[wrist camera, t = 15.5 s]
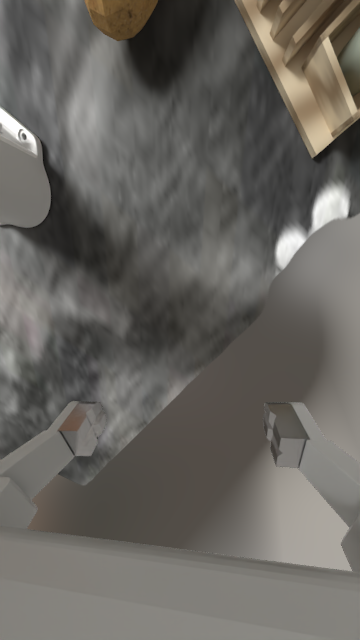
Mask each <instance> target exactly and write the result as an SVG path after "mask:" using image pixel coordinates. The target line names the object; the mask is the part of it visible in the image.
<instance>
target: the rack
mask: <svg viewBox="0 0 360 640" xmlns="http://www.w3.org/2000/svg"><path fill="white" fill-rule="evenodd" d="M234 1H235V3H236V5H237V7H238V9H239V11H240V13H241V15H242V17H243V19H244V21H245V23H246V25H247V27H248V29H249V31H250V33H251V35H252V37H253V39H254V41H255V44H256V46H257V48H258V50H259V52H260V54H261V56H262V58H263V60H264V62H265V64H266V66H267V68H268V70H269V72H270V74H271V76H272V78H273V80H274V82H275V84H276V86H277V88H278V90H279V92H280V94H281V96H282V98H283V100H284V102H285V105H286V107H287V109H288V111H289V113H290V115H291V117H292V119H293V121H294V123H295V125H296V127H297V129H298V131H299V133H300V135H301V137H302V139H303V141H304V143H305V145H306V147H307V149H308V151H309V153H310V155H311V157H312V158H313V157H314V156H316V155H317V154H318V153H319V152H321V151H322V150H323V149H324V148H325V147H326V146H328V145H329V144H330V143H331V142H332V141H333V140H334V139H336V138H337V137H338V136H339V135H340V134H341V133H343V132H344V131H345V130H346V129H347V128H348V127H349V126H351V125H352V124H353V123H354V122H355V121H356V120H358V119H359V118H360V92H359V93H358V94H357V95H355V96H353V97H352V96H351V93H350V91H349V88H348V86H347V83H346V80H345V78H344V75H343V73H342V70H341V68H340V65H339V63H338V60H337V57H338V55H339V53H340V52H341V51H342V49H343V48H344V47H345V45H346V44H347V43H348V41H349V40H350V39H351V38H352V36H353V35H354V34H355V32H356V31H357V30H358V28H359V27H360V0H234Z"/></svg>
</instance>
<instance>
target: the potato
mask: <svg viewBox="0 0 360 640" xmlns="http://www.w3.org/2000/svg"><path fill="white" fill-rule="evenodd" d="M157 2H158V0H85V3H86V6H87V8H88V11H89V13H90V16H91V19H92V21H93V24H94V25H95V26H96V27H97V28H98V29H99V30H100V31H101V32H103V33H104V34H105V35H107V36H109V37H111V38H113V39H115V40H117V41H121V40H125V39H129V38H133V37H134V36H135V35H136V34H137V33H138V32H140V31H141V30H142V28H143V27H144V25H145V24H146V22H147V20H148V19H149V17H150V15H151V14H152V12H153V10H154V8H155V6H156V4H157Z"/></svg>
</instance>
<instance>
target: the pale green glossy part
mask: <svg viewBox="0 0 360 640" xmlns="http://www.w3.org/2000/svg"><path fill="white" fill-rule="evenodd" d="M337 60H338V63H339V65H340V68H341V70H342V73H343V75H344V78H345V80H346V83H347V86H348V88H349V91H350V93H351V96H352V97H353V96H355V95H357V94H358V93H359V92H360V27H359V28H358V30H357V31H356V32H355V34H354V35H353V36H352V38H351V39H350V40H349V41H348V43H347V44H346V45H345V47H344V48H343V49H342V51H341V52H340V53H339V55H338V57H337Z"/></svg>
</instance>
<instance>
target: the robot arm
mask: <svg viewBox="0 0 360 640" xmlns="http://www.w3.org/2000/svg"><path fill="white" fill-rule="evenodd" d="M26 136H27V139H26V138H25V137H26ZM50 203H51V191H50V185H49V181H48V177H47V174H46V171H45V169H44V165H43V153H42V145H41V142H40V140H39V138H38V137H37V136H36V135H35V134H34V133H33V132H31V131H30V130H29V129H28V128H27V127H25V126H24V125H23V124H22V123H21V122H19V121H18V120H17V119H16V118H15V117H13V116H12V115H11V114H10V113H9V112H7V111H6V110H5V109H4V108H3V107H2V106H0V225H6V224H11V225H15V226H18V227H23V228H30V227H34V226H37V225H39V224H40V223H41V222H42V221H43V220H44V219H45V218H46V216H47V214H48V212H49V209H50ZM102 407H103V406H102V404H101V402H87V401H72V402H70V403H69V404H68V405H67V406H66V408H65V409H64V410H63V411H62V413H61V414H60V415H59V416H58V418H57V419H56V420H55V421H54V423H53V424H52V425H51V426H50V427H49V429H48V430H47V431H43V432H42V433H40V434H39V435H37V436H36V437H34V438H33V439H31V440H30V441H28V442H27V443H25V444H24V445H22V446H21V447H19V448H18V449H16V450H15V451H14V452H12V453H11V454H9V455H8V456H6V457H5V458H3V459H2V460H0V640H360V463H359V462H358V461H357V460H355V459H354V458H353V457H352V456H350V455H349V454H348V453H346V452H345V451H344V450H342V449H341V448H340V447H338V446H337V445H336V444H334V443H333V442H332V441H328V440H326V439H325V437H324V436H323V434H322V432H321V431H320V429H319V427H318V426H317V424H316V423H315V421H314V419H313V418H312V416H311V415H310V413H309V411H308V410H307V408H306V406H305V405H304V404H303V403H288V402H287V403H286V402H282V403H281V402H280V403H279V402H278V403H277V402H272V403H265V405H264V410H265V412H266V413H265V414H264V415H263V425H264V430H265V434H266V437H267V439H268V440H269V441H270V442H271V447H270V449H271V453H272V456H273V459H274V461H275V465H276V466H279V467H290V468H299V470H300V471H301V473H302V474H303V475H304V476H305V477H306V478H307V480H308V481H309V482H310V483H311V484H312V485H313V486H314V488H315V489H316V490H317V491H318V492H319V493H320V494H321V496H322V497H323V498H324V499H325V500H326V501H327V502H328V504H329V505H330V506H331V507H332V508H333V509H334V510H335V511H336V513H337V514H338V515H339V516H340V517H341V518H342V519H343V521H344V522H345V523H346V524H347V525H348V526H349V530H348V531H347V533H346V535H345V536H344V538H343V540H342V542H341V546H342V548H343V551H344V553H345V555H346V557H347V560H348V562H349V564H350V567H351V569H352V571H353V572H351V571H344V570H337V569H328V568H321V567H314V566H306V565H298V564H290V563H282V562H275V561H267V560H260V559H252V558H244V557H236V556H229V555H221V554H213V553H206V552H198V551H190V550H182V549H175V548H167V547H159V546H152V545H143V544H137V543H128V542H121V541H113V540H106V539H98V538H91V537H83V536H75V535H67V534H60V533H51V532H44V531H36V530H29V529H27V527H28V525H29V524H30V522H31V520H32V519H33V517H34V515H35V514H36V512H37V506H36V505H35V504H34V503H33V502H32V501H31V500H32V499H33V498H34V497H35V495H37V494H38V493H39V492H40V491H41V490H42V489H43V487H44V486H46V485H47V484H48V482H50V481H51V479H52V478H54V477H55V476H56V475H57V474H58V473H59V472H60V471H61V470H62V469H63V468H64V467H65V466H66V465H67V464H68V463H69V462H70V461H71V460H72V459H73V458H74V456H91V455H92V453H93V451H94V449H95V447H96V445H97V443H98V436H99V435H100V434H101V433H103V431H104V429H105V427H106V422H107V416H106V413H105V412H104V411H103V410H101V409H102Z"/></svg>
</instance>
